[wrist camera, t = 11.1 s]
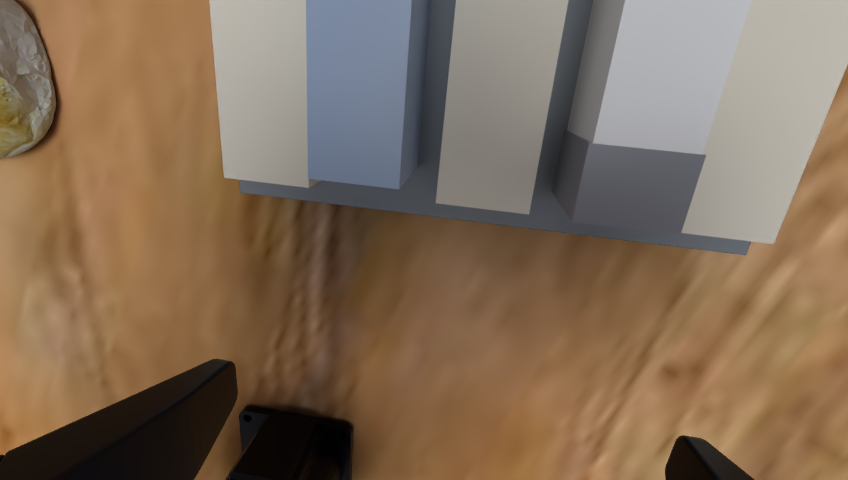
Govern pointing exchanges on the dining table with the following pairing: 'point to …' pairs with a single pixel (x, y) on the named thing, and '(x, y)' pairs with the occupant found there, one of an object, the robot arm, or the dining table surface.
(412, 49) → the grey rectangular bar
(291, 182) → the rack
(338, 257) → the dining table surface
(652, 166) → the grey white bar
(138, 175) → the dining table surface
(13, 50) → the bread roll
